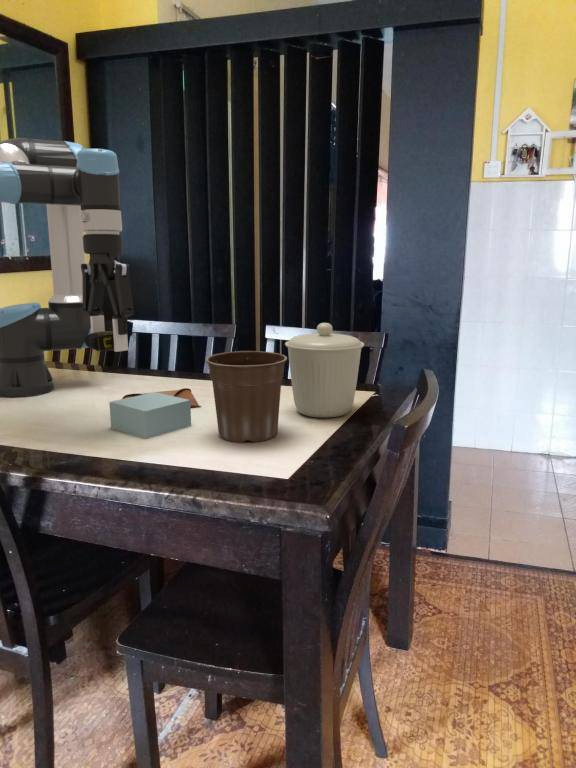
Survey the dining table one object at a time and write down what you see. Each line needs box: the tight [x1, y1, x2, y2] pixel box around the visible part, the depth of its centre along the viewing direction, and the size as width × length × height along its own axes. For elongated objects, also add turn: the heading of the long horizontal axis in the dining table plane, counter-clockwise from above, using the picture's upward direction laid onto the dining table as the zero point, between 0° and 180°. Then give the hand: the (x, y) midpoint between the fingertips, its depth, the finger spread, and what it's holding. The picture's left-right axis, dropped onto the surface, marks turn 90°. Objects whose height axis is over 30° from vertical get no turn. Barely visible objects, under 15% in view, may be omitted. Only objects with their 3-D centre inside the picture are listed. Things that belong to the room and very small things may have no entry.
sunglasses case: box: [121, 387, 202, 409], centre depth 144 cm, size 18×7×7 cm
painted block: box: [109, 391, 192, 439], centre depth 128 cm, size 12×12×6 cm
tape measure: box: [85, 330, 114, 352], centre depth 121 cm, size 7×7×4 cm
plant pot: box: [205, 350, 288, 443], centre depth 121 cm, size 16×16×16 cm
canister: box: [284, 322, 365, 419], centre depth 137 cm, size 18×18×21 cm
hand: (110, 348), depth 122 cm, fingers closed on tape measure, 7 cm apart
